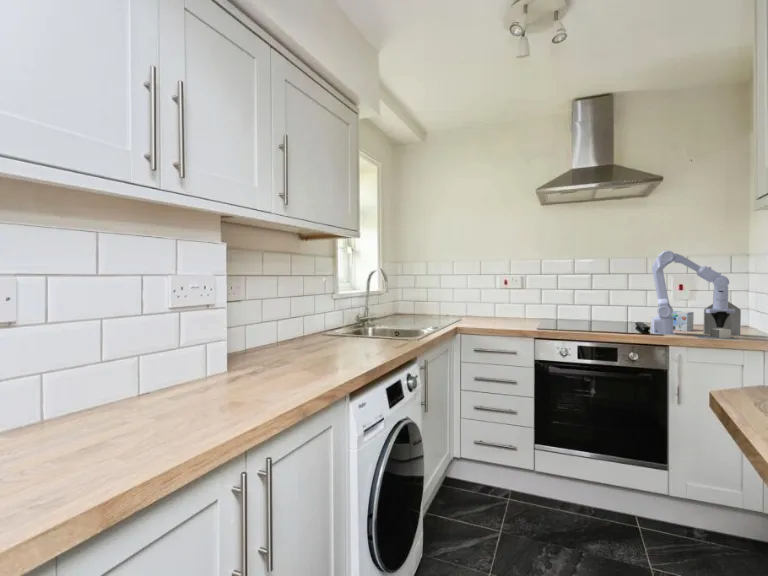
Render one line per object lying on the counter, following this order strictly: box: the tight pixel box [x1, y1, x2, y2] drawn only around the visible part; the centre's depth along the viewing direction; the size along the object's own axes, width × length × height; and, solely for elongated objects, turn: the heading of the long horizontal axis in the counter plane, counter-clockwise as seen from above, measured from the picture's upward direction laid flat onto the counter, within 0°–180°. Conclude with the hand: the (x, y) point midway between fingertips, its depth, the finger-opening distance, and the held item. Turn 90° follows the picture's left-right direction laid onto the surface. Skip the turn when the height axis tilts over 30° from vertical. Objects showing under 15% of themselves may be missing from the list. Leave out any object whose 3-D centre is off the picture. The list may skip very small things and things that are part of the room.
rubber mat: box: [691, 334, 740, 341], centre depth 195 cm, size 16×12×1 cm
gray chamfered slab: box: [702, 301, 742, 337], centre depth 208 cm, size 16×8×19 cm, turn 77°
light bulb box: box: [671, 310, 695, 332], centre depth 225 cm, size 11×7×11 cm, turn 27°
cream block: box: [710, 329, 732, 338], centre depth 195 cm, size 4×4×7 cm
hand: (719, 327), depth 195 cm, fingers closed
